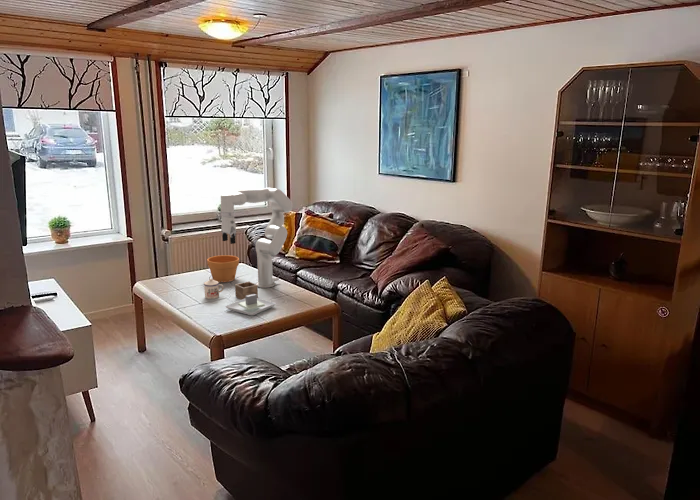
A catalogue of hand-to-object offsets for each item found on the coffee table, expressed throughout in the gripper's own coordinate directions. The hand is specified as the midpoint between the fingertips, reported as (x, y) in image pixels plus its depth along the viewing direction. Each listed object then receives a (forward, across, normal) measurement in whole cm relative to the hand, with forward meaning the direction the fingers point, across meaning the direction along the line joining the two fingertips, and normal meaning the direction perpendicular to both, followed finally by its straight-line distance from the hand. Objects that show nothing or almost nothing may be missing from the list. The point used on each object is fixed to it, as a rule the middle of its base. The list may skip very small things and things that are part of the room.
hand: (229, 242), depth 331 cm
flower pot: (+35, +34, -13) cm, 50 cm away
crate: (+34, -8, -6) cm, 36 cm away
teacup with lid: (+34, +5, +9) cm, 36 cm away
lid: (+31, -31, +4) cm, 44 cm away
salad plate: (+35, -29, +3) cm, 45 cm away
